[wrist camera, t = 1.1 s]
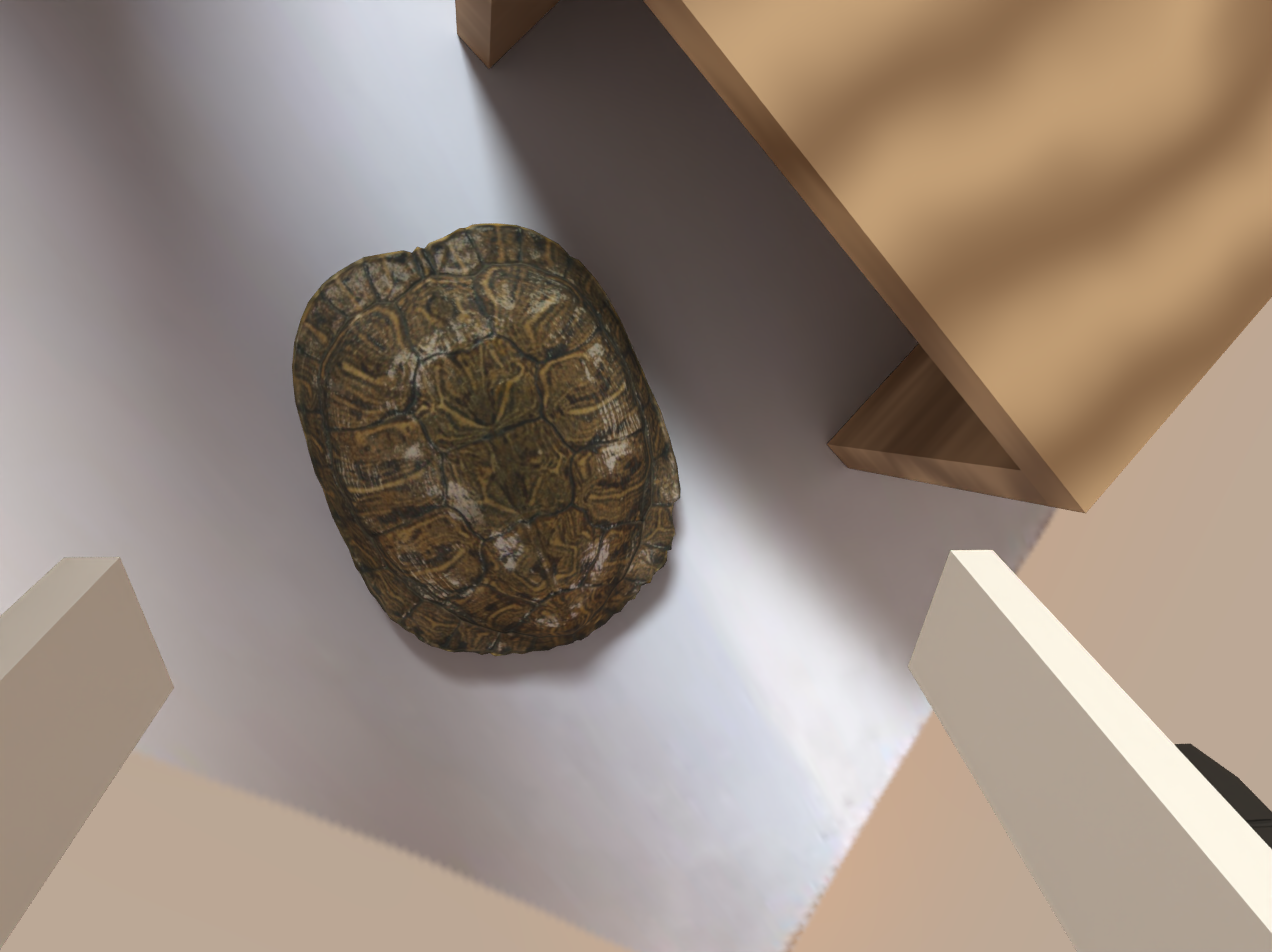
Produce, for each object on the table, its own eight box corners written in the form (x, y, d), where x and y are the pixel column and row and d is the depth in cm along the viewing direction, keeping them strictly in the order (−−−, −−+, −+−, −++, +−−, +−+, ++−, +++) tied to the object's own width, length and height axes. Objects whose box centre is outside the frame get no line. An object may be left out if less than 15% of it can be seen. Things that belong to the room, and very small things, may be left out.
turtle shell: (418, 756, 29) (166, 313, 21) (423, 647, 37) (242, 299, 30) (748, 609, 31) (625, 168, 24) (684, 537, 40) (577, 192, 32)
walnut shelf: (457, 33, 31) (438, -310, 16) (707, -207, 32) (908, -731, 17) (847, 468, 38) (1085, 513, 23) (1038, 257, 40) (1378, 173, 25)
